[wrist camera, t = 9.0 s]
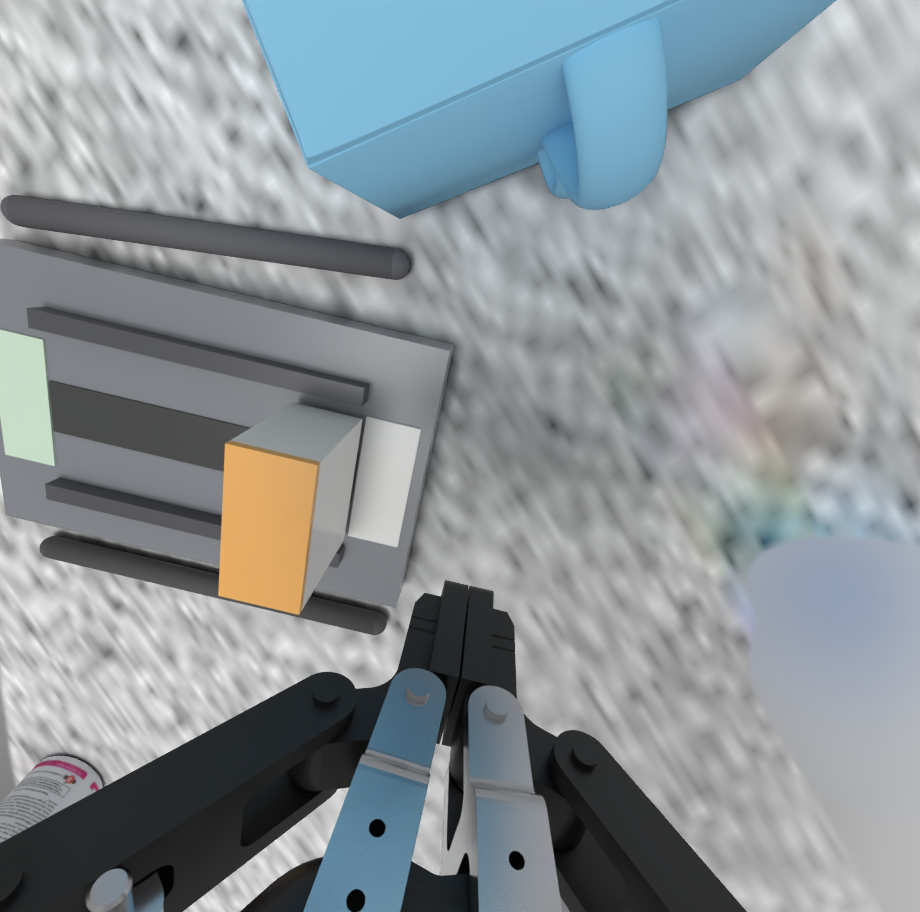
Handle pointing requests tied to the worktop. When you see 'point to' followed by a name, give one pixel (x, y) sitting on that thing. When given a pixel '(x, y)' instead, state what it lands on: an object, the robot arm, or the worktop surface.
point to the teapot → (503, 87)
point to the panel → (198, 407)
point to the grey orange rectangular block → (285, 505)
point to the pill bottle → (46, 793)
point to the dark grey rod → (199, 582)
